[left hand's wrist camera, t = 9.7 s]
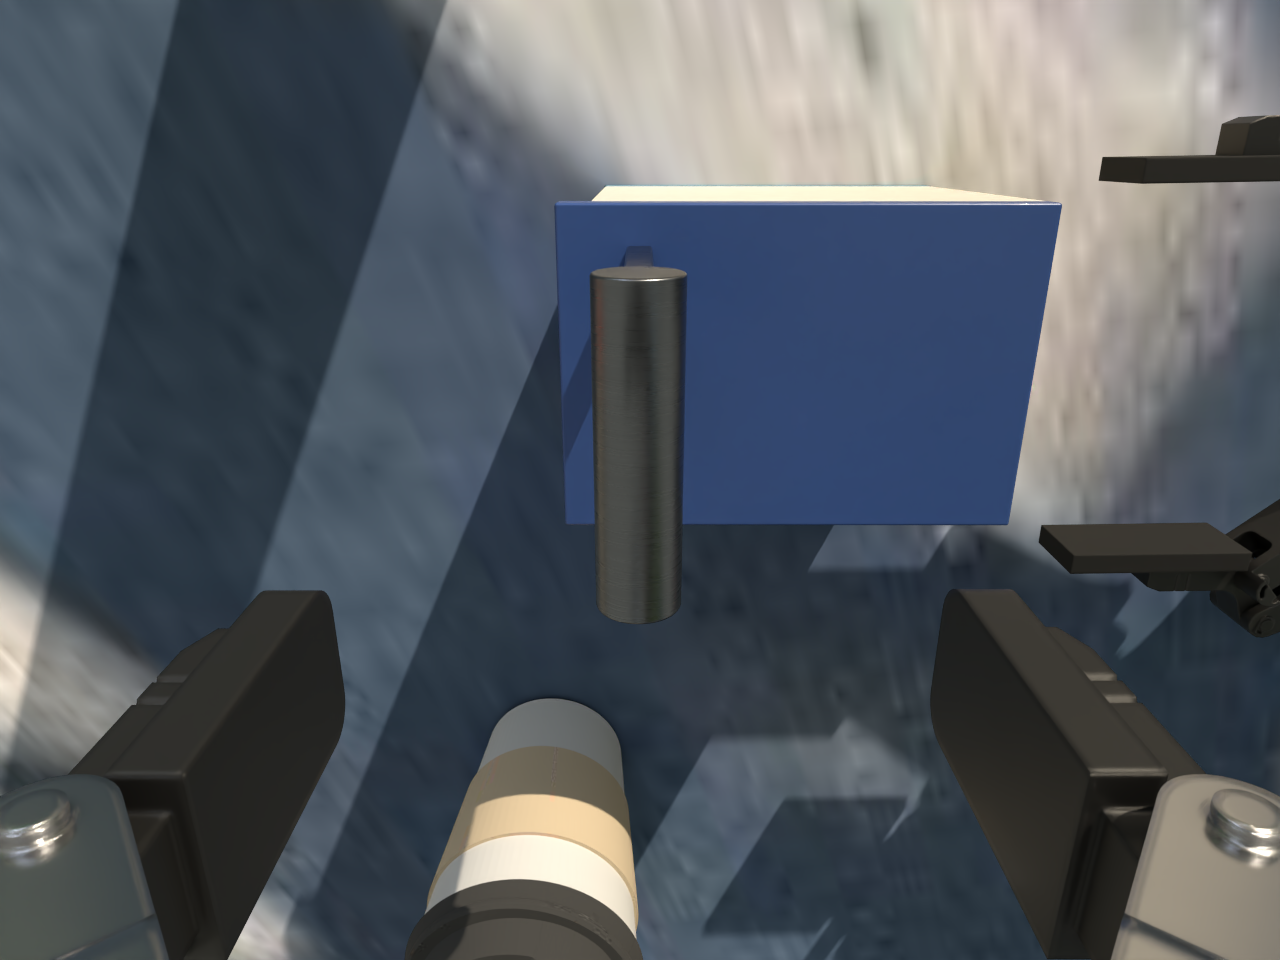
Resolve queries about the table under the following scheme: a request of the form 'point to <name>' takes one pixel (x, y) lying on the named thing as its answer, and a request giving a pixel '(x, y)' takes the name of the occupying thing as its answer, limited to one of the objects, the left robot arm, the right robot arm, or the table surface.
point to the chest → (792, 193)
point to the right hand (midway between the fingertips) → (1084, 374)
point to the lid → (789, 369)
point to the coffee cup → (538, 848)
